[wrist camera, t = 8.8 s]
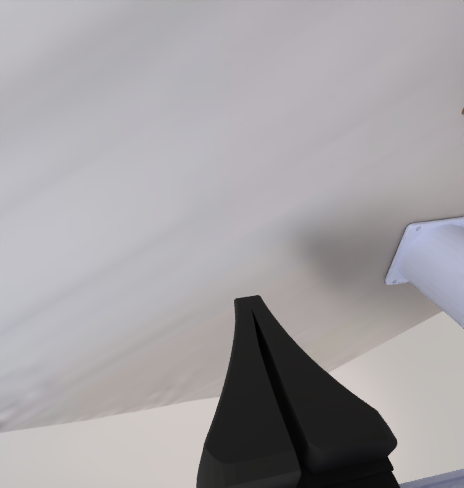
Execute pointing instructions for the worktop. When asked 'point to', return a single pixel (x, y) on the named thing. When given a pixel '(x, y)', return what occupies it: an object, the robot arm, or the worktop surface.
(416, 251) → the robot arm
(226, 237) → the worktop surface
